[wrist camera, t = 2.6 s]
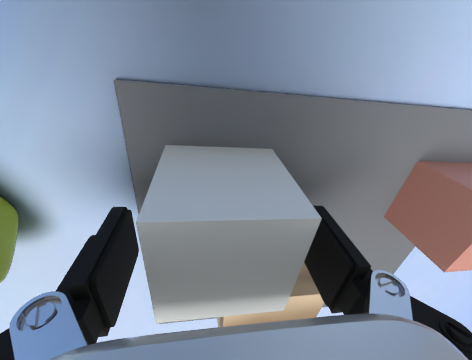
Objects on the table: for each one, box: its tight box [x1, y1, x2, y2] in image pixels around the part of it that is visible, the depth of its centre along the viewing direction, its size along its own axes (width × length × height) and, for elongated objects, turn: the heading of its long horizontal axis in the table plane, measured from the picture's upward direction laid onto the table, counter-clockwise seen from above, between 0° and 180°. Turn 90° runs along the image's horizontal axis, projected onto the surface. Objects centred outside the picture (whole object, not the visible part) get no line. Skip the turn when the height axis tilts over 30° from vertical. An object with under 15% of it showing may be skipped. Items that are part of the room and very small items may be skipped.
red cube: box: [384, 161, 472, 272], centre depth 14 cm, size 5×5×5 cm
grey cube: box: [136, 145, 322, 323], centre depth 11 cm, size 6×6×6 cm
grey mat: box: [114, 79, 472, 324], centre depth 17 cm, size 22×24×1 cm
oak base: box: [217, 263, 324, 327], centre depth 17 cm, size 7×7×4 cm
